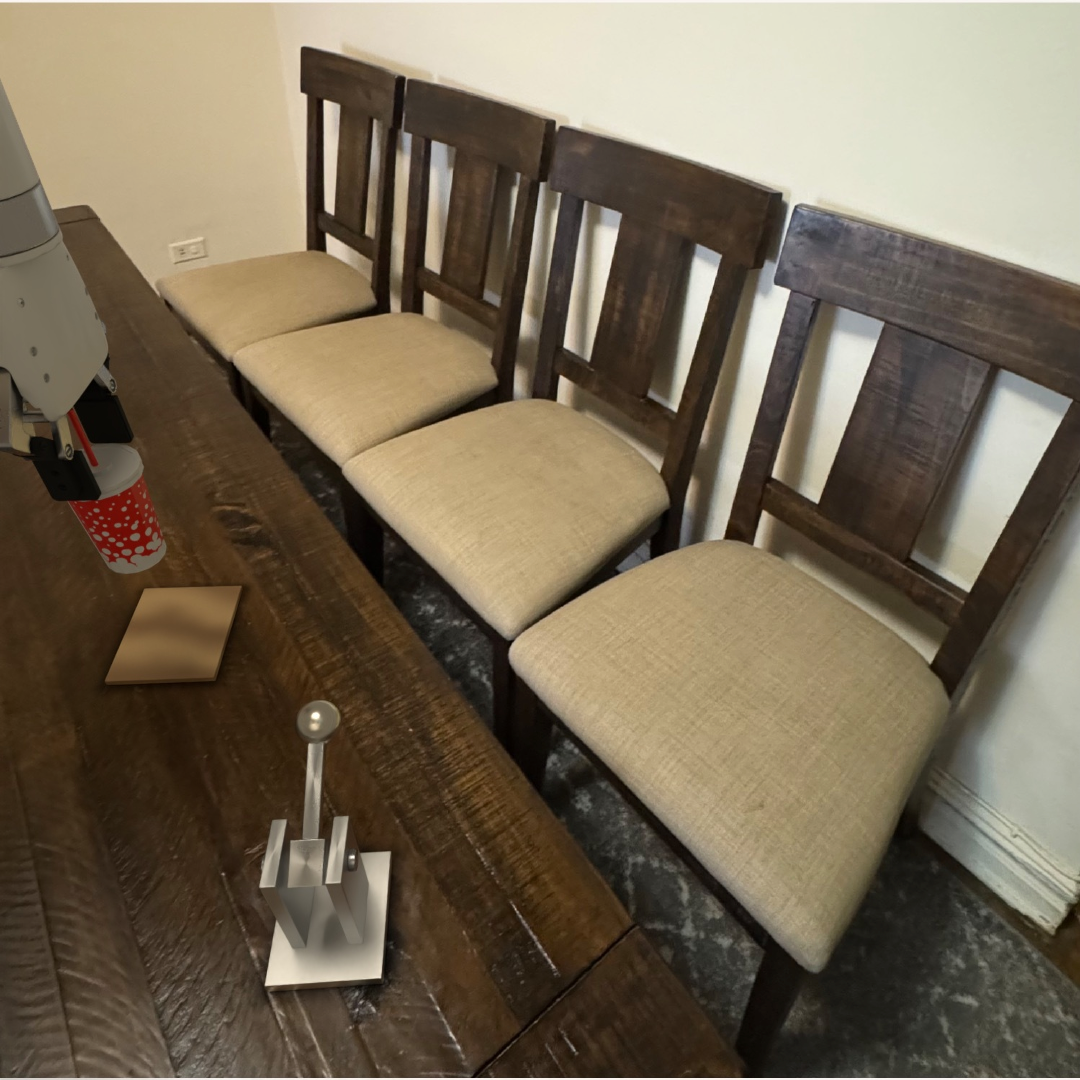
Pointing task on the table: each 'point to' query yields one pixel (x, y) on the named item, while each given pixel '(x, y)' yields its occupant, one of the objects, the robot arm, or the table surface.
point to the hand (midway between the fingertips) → (95, 466)
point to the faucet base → (327, 914)
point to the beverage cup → (119, 507)
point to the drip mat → (176, 635)
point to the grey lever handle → (313, 794)
